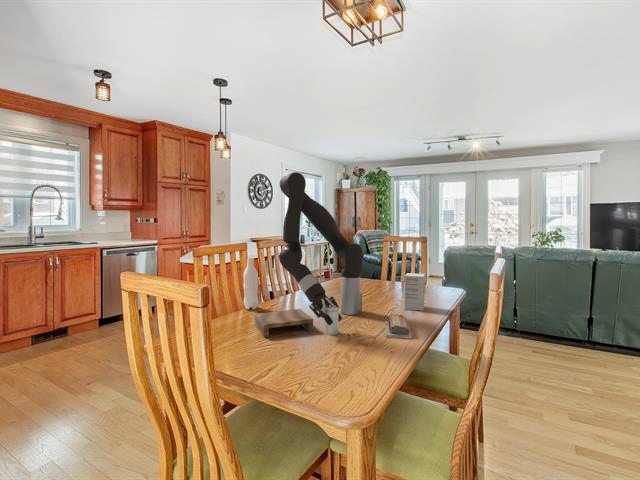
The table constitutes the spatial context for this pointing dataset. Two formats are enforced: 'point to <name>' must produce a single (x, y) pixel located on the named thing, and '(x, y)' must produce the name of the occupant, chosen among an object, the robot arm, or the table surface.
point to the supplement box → (414, 291)
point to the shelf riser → (282, 320)
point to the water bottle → (250, 285)
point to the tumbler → (334, 315)
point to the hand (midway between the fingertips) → (335, 321)
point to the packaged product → (397, 327)
